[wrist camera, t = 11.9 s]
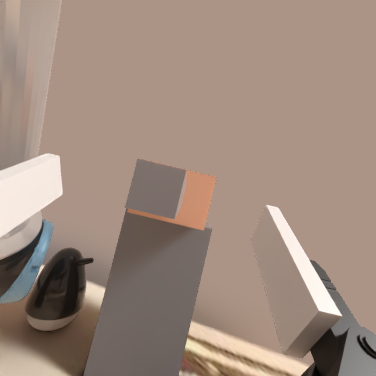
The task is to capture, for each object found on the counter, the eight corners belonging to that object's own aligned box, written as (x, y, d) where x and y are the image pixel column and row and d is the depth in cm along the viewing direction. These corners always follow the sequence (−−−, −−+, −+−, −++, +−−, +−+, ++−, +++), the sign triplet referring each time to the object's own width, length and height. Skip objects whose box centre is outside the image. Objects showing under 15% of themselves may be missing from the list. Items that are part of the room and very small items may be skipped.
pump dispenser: (56, 347, 35) (79, 262, 36) (4, 330, 36) (27, 247, 37) (89, 315, 45) (106, 249, 46) (48, 302, 46) (66, 237, 47)
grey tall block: (171, 405, 30) (212, 228, 31) (81, 383, 30) (126, 208, 31) (175, 346, 42) (204, 220, 43) (111, 330, 42) (142, 205, 43)
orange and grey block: (224, 267, 12) (250, 151, 12) (58, 226, 12) (89, 113, 12) (199, 223, 33) (209, 182, 33) (141, 209, 33) (151, 168, 33)
